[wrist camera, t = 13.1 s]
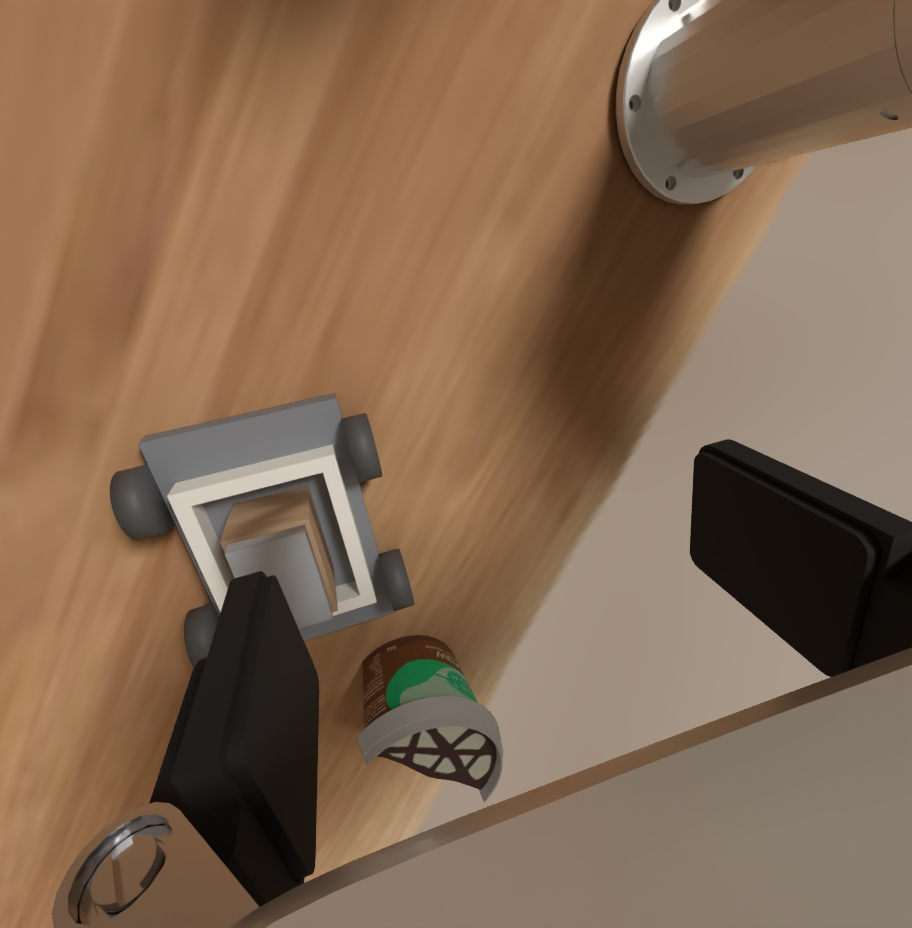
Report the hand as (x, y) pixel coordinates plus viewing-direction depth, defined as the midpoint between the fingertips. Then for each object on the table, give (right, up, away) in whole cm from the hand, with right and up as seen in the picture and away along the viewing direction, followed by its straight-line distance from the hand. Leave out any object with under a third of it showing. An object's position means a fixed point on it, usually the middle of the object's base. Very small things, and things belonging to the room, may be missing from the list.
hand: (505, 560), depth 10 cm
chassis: (-14, -3, +25) cm, 28 cm away
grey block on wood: (-13, -3, +23) cm, 27 cm away
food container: (-4, -15, +33) cm, 36 cm away
